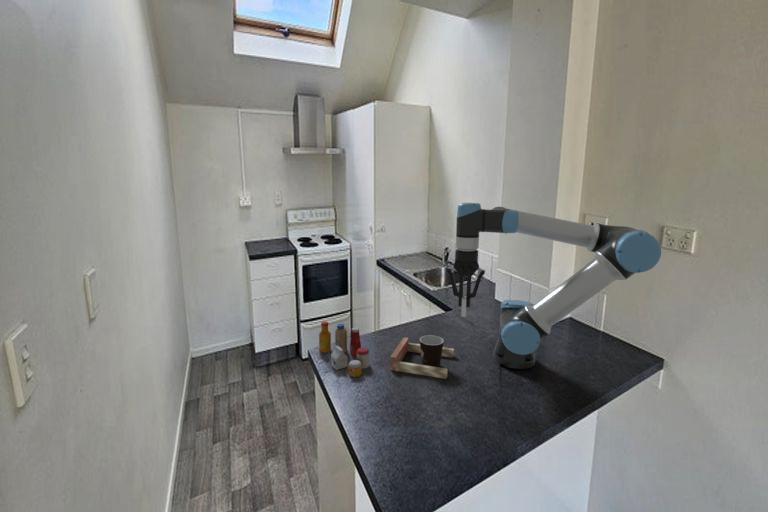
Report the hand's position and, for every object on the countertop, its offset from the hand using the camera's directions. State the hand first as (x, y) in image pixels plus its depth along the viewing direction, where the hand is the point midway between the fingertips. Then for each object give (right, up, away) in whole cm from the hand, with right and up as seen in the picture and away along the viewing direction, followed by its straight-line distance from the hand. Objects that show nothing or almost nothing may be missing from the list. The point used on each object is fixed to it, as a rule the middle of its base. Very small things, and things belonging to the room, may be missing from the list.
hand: (463, 315), depth 130 cm
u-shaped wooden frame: (-12, -19, +8) cm, 24 cm away
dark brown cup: (-10, -19, +7) cm, 23 cm away
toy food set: (-42, -19, +10) cm, 47 cm away
